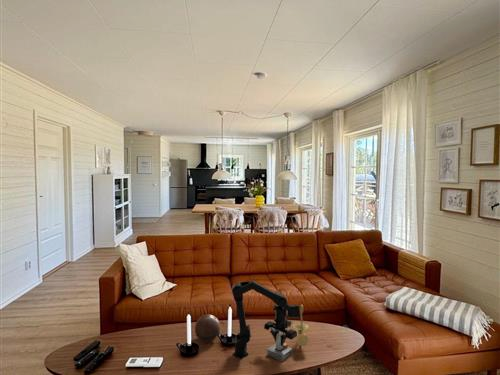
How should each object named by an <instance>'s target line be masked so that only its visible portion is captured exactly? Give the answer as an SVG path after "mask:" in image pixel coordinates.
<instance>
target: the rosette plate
mask: <svg viewBox="0 0 500 375" xmlns="http://www.w3.org/2000/svg"><path fill="white" fill-rule="evenodd" d="M266 353H267V354H266V355H267V356H269V357H271V358H274V359H276V360H278V361H280V362H284V361H285V360H286V359H287V358H289V357H291V355H292V354H293V348H292V347H290V346H289V344H288V343H286V342H284V345H283V349H282V350H281V351H280V350H278V349H276V343H274V344H273V345H271V346H269V347H268V348H267V350H266Z"/></svg>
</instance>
